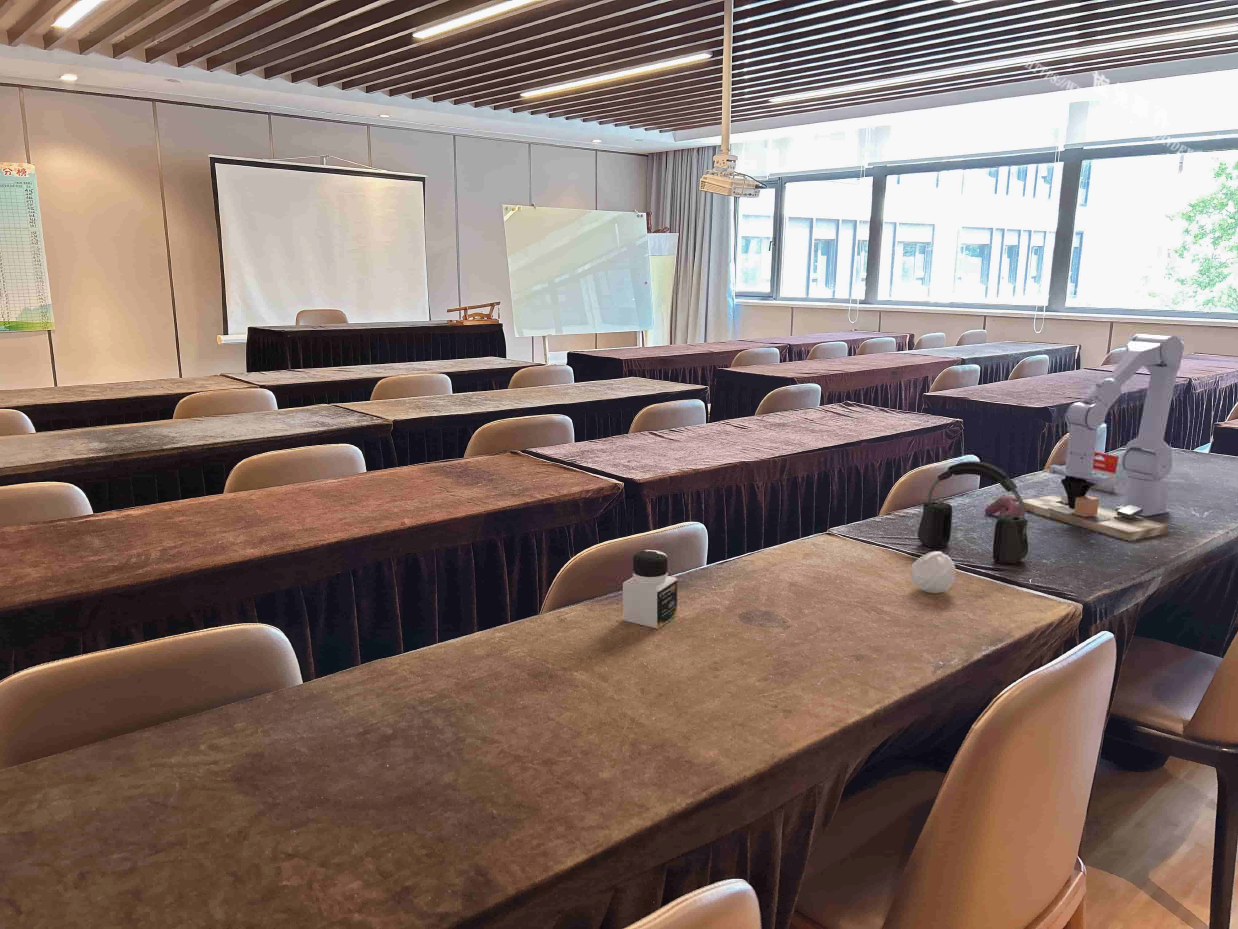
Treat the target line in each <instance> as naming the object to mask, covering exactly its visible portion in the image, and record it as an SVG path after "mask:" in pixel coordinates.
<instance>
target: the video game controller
mask: <svg viewBox="0 0 1238 929" xmlns="http://www.w3.org/2000/svg"><path fill="white" fill-rule="evenodd" d="M984 513H985V515H986V514H987V516H992V515H995V514H997V513H998V515H999V517H1000V518H1001V517H1003V516H1005V515H1015V516H1018V517H1020V516H1021V514H1020V506H1019V503H1018V501H1017V499H1016V497H1015V496H1012V495H1005V494H1003V495H1002V496H1000V497H998V498H997V499H996V500H994V501H993V502H992V503H990V504H989V505H987V506H986V508H984Z"/></svg>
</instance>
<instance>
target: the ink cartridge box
mask: <svg viewBox="0 0 1238 929" xmlns="http://www.w3.org/2000/svg"><path fill="white" fill-rule="evenodd" d="M1098 456H1100V457H1101V458H1103V459H1104V460H1102V459H1097V458H1095V457H1098ZM1119 458H1120V457H1119V456H1116V455H1112V454H1106V453H1101V452H1097V451H1095V452H1094V461H1093V470H1092V472H1095V473H1098V474H1100V475H1103V476H1106V477H1109V484H1108V485H1106V486H1100V485H1099V484H1096V483H1093V485H1092V486H1091V487H1092V488H1091V489H1096V490H1099V491H1104V492H1107V491H1108V492H1107V493H1110V491H1111V492H1114V491H1115V488H1116V479H1117V478H1116V477H1117V467H1118V463H1119V462H1118V461H1119Z"/></svg>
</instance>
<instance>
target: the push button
mask: <svg viewBox="0 0 1238 929" xmlns="http://www.w3.org/2000/svg"><path fill="white" fill-rule="evenodd" d="M1060 497H1061V503H1060V504H1064V505H1067V506H1069V503H1068V498H1067V494H1066V492H1065V493H1061V496H1060Z"/></svg>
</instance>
